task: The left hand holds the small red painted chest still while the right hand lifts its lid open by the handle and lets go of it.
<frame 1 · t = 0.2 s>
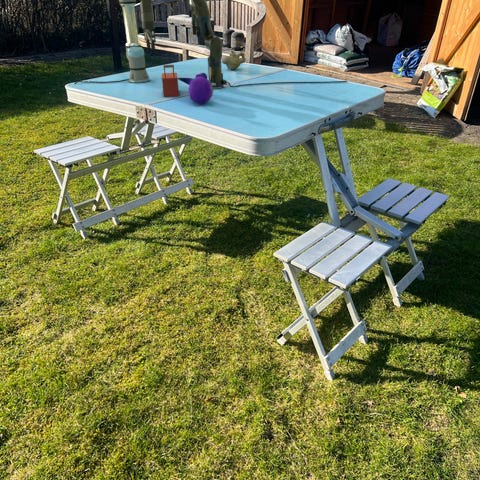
left hand: (196, 35, 349), 28 cm above the table, tool pointing down, fingers open, 13 cm apart
right hand: (151, 48, 281), 29 cm above the table, tool pointing down, fingers open, 8 cm apart
chest: (171, 93, 300), on the table
teapot: (233, 69, 375), on the table
lid: (169, 70, 292), point 15 cm above the table, hinge at 0.0°
toy: (197, 101, 280), on the table
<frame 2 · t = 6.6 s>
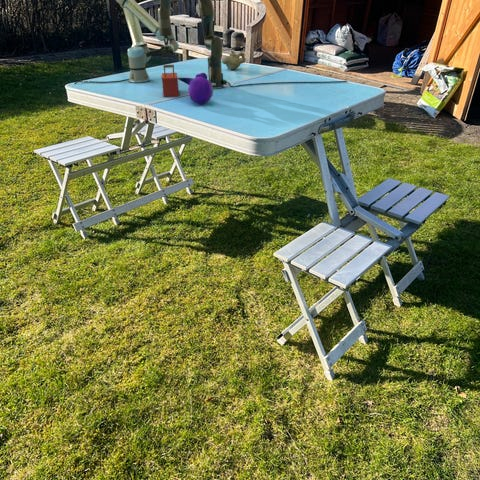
left hand: (155, 54, 312), 21 cm above the table, tool horizontal, fingers open, 13 cm apart
right hand: (167, 55, 282), 25 cm above the table, tool pointing down, fingers open, 8 cm apart
nothing on the table moved.
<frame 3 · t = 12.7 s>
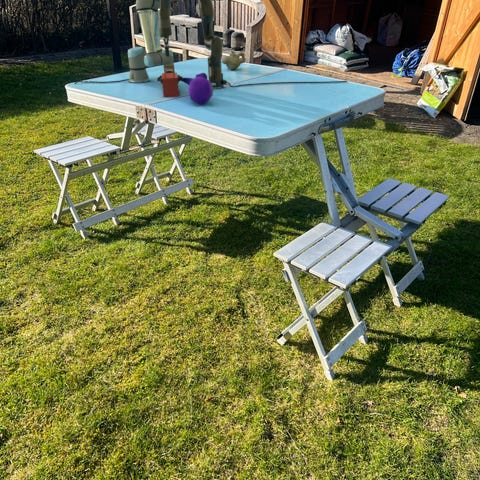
left hand: (170, 81, 301), 7 cm above the table, tool horizontal, fingers closed on chest, 10 cm apart
right hand: (167, 55, 282), 25 cm above the table, tool pointing down, fingers open, 8 cm apart
chest: (171, 93, 300), on the table, touching left hand
everything else where it was.
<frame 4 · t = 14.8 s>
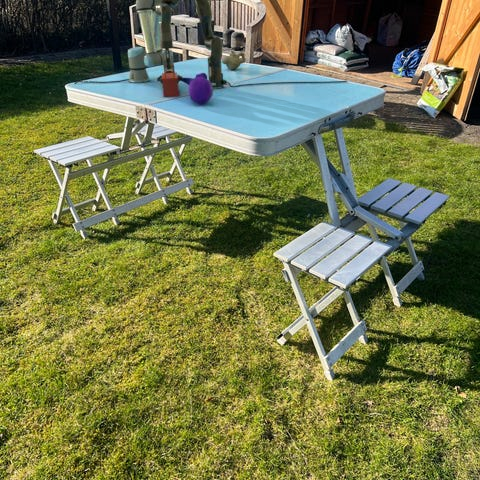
left hand: (170, 81, 301), 7 cm above the table, tool horizontal, fingers closed on chest, 10 cm apart
right hand: (168, 69, 286), 17 cm above the table, tool pointing down, fingers closed on lid
chest: (171, 93, 300), on the table, touching left hand
lid: (169, 70, 292), point 15 cm above the table, hinge at -0.1°, touching right hand
everything else where it was.
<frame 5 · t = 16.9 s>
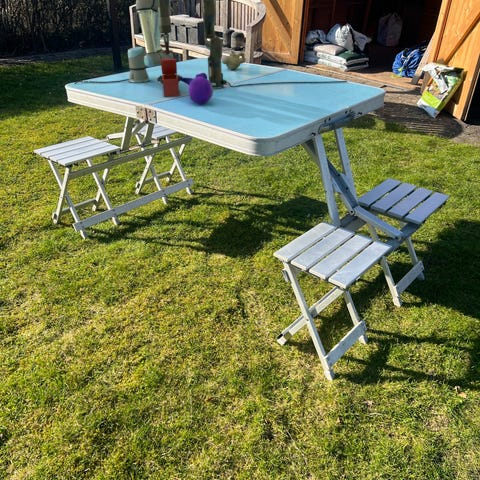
left hand: (170, 81, 301), 7 cm above the table, tool horizontal, fingers closed on chest, 10 cm apart
right hand: (167, 54, 289), 25 cm above the table, tool pointing down, fingers closed on lid
chest: (171, 93, 300), on the table, touching left hand
lid: (168, 61, 293), point 20 cm above the table, hinge at 37.1°, touching right hand
everything else where it was.
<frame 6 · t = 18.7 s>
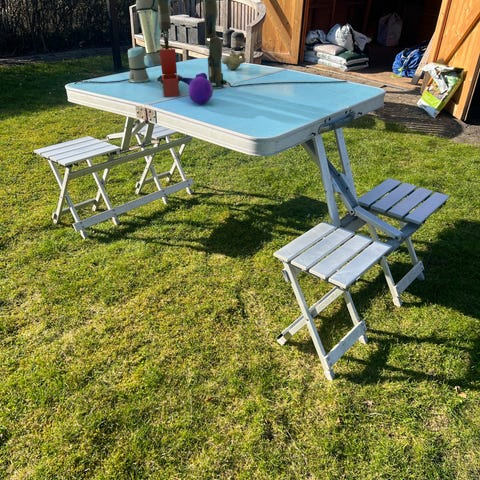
left hand: (170, 81, 301), 7 cm above the table, tool horizontal, fingers closed on chest, 10 cm apart
right hand: (167, 49, 294), 26 cm above the table, tool pointing down, fingers open, 4 cm apart
chest: (171, 93, 300), on the table, touching left hand
lid: (168, 58, 296), point 21 cm above the table, hinge at 62.4°
everything else where it was.
when the left hand's fingers open (7 cm above the table, at t = 22.2 s): chest stays where it is, on the table.
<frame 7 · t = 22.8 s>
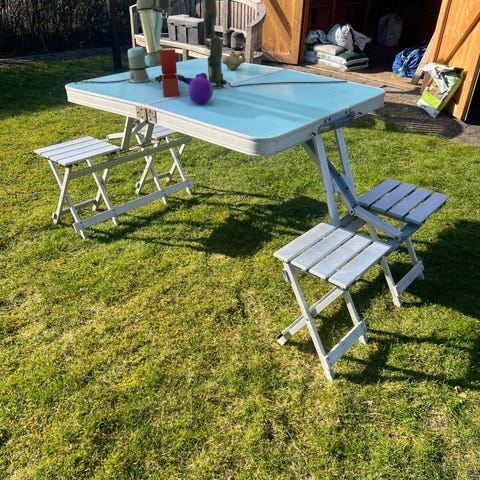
left hand: (169, 80, 303), 7 cm above the table, tool horizontal, fingers open, 13 cm apart
right hand: (165, 28, 279), 40 cm above the table, tool pointing down, fingers open, 8 cm apart
chest: (171, 93, 300), on the table
lid: (168, 58, 296), point 21 cm above the table, hinge at 61.4°
everything else where it was.
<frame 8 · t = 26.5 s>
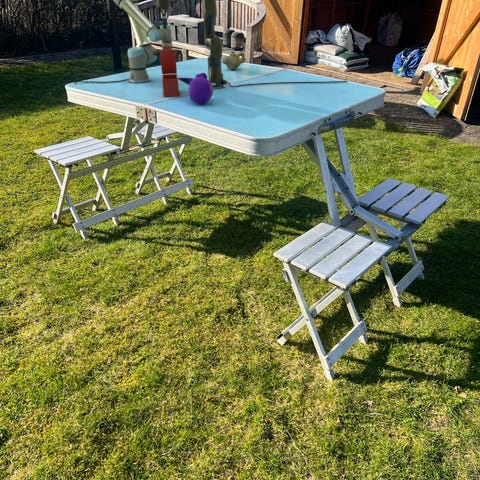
left hand: (167, 54, 306), 22 cm above the table, tool horizontal, fingers open, 13 cm apart
right hand: (165, 28, 279), 40 cm above the table, tool pointing down, fingers open, 8 cm apart
nothing on the table moved.
at the end: lid at +61° (first picture: +0°); the left hand is holding nothing; the right hand is holding nothing; chest tilted 0°; chest never tilted more than 1° during the clip; chest moved 0.1 cm from its start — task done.
